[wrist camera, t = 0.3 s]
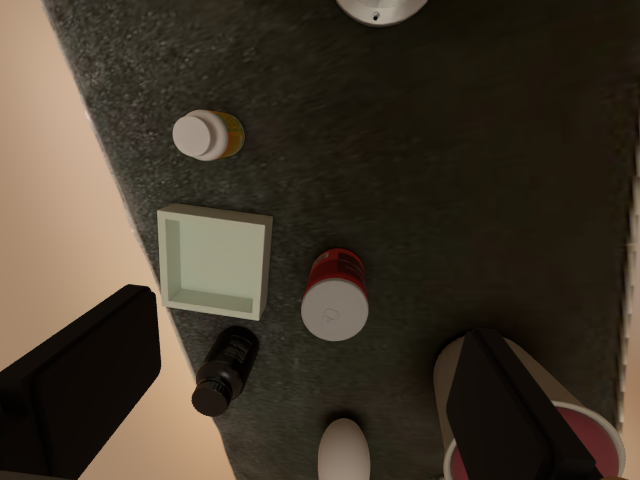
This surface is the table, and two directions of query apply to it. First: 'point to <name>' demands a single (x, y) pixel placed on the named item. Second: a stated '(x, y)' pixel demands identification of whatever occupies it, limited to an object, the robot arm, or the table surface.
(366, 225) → the table surface
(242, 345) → the supplement bottle
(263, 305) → the bin
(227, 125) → the supplement bottle
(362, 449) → the air blower bulb
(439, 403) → the canister
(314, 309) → the canned food
